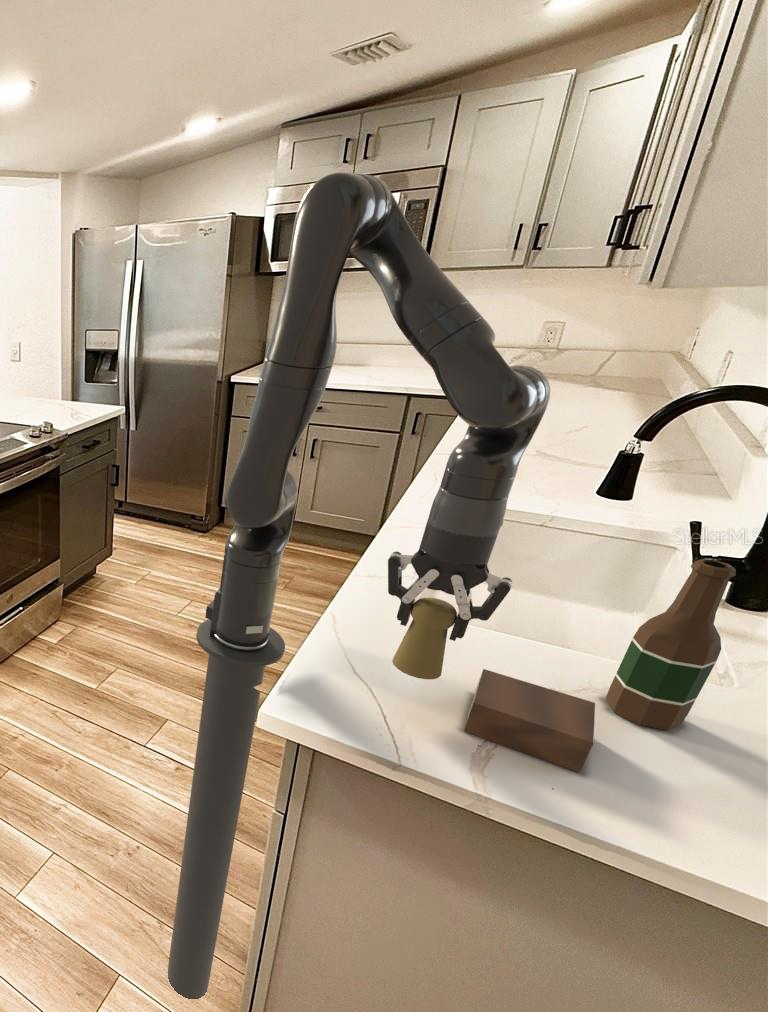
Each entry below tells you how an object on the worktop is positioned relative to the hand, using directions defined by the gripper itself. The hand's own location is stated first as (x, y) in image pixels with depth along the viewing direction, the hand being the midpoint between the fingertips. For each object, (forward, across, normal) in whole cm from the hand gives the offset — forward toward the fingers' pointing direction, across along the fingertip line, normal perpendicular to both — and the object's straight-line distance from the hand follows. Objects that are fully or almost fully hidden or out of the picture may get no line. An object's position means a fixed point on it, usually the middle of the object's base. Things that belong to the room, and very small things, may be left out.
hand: (428, 630), depth 88 cm
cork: (+7, 0, 0) cm, 7 cm away
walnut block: (+12, +13, +2) cm, 18 cm away
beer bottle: (+12, +25, +17) cm, 33 cm away
